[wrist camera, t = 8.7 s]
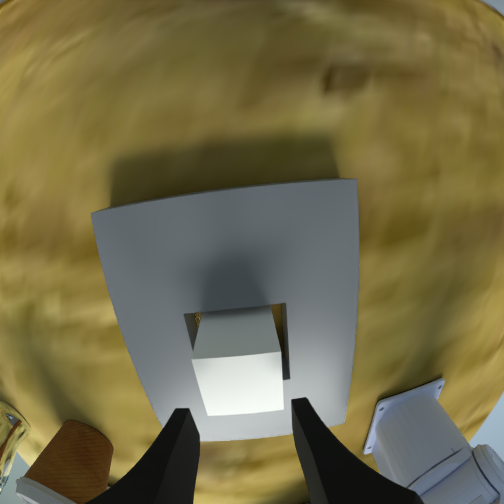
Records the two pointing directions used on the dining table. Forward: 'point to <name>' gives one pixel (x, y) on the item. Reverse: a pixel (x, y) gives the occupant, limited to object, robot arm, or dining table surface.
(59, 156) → the dining table surface
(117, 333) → the dining table surface
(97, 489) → the disposable coffee cup
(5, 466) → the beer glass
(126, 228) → the socket plate
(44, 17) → the dining table surface
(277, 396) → the plug block
